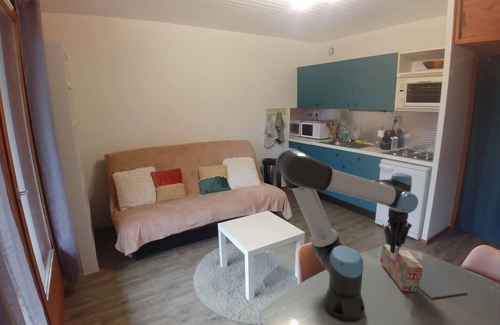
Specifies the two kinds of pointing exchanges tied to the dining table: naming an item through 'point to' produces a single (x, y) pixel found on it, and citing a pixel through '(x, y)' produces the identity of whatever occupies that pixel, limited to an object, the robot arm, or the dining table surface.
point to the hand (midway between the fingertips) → (393, 258)
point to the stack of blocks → (402, 269)
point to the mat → (437, 283)
